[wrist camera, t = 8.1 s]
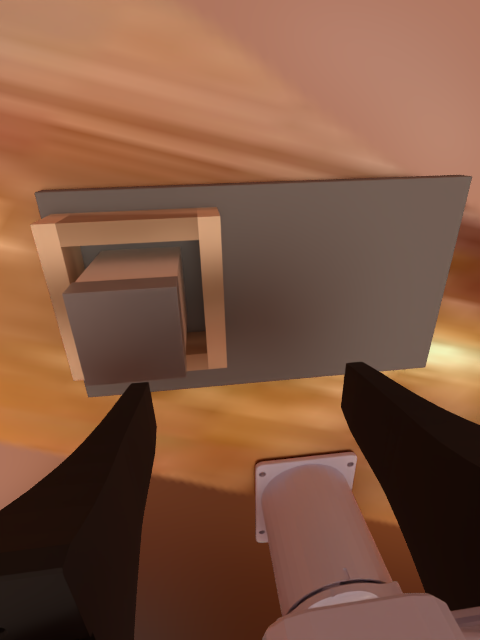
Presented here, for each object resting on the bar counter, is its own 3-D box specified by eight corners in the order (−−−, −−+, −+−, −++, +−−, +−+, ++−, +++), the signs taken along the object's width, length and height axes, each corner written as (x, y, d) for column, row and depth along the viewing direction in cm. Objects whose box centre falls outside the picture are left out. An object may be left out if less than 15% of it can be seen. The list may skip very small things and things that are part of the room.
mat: (416, 359, 25) (425, 367, 24) (92, 387, 23) (88, 397, 22) (459, 174, 20) (472, 176, 19) (42, 190, 18) (34, 192, 17)
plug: (187, 316, 21) (186, 377, 15) (114, 321, 20) (86, 386, 15) (181, 245, 19) (176, 286, 13) (100, 250, 18) (61, 294, 13)
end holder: (223, 344, 22) (227, 367, 19) (86, 355, 21) (73, 380, 19) (216, 207, 18) (220, 216, 16) (50, 213, 17) (30, 224, 15)
